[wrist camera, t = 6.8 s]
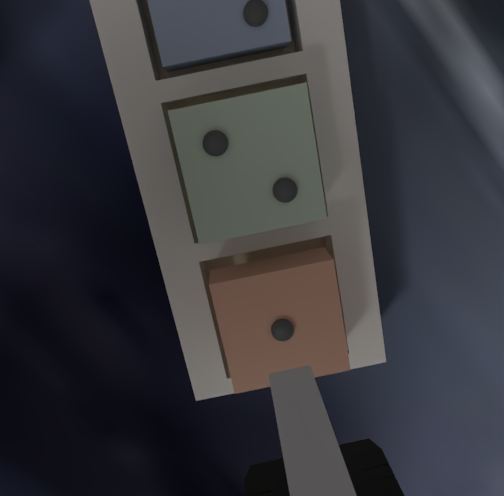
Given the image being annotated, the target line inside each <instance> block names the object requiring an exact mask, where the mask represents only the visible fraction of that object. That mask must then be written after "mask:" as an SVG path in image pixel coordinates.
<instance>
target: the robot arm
mask: <svg viewBox="0 0 504 496" xmlns="http://www.w3.org/2000/svg"><path fill="white" fill-rule="evenodd" d="M268 375H269V381H270V387H271V392H272V398H273V403H274V409H275V415H276V420H277V426H278V431H279V437H280V443H281V448H282V454H283V459H278V460H274V461H269V462H265V463H260V464H255V465H251V466H250V469H249V471H248V474H247V476H246V478H245V494H246V496H404V494H403V492H402V490H401V488H400V486H399V484H398V482H397V480H396V478H395V476H394V473H393V471H392V469H391V467H390V466H389V463H388V461H387V459H386V457H385V455H384V453H383V451H382V449H381V448H380V447H378V446H377V445H376V444H375V443H374V442H372V441H371V440H370V439H365V440H360V441H355V442H351V443H346V444H342V445H338V442H337V439H336V437H335V434H334V431H333V428H332V425H331V423H330V420H329V417H328V414H327V411H326V409H325V406H324V403H323V400H322V397H321V395H320V392H319V389H318V386H317V383H316V381H315V378H314V375H313V372H312V369H311V367H310V365H307V366H303V367H298V368H293V369H289V370H284V371H280V372H275V373H270V374H268Z"/></svg>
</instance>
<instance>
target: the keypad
mask: <svg viewBox="0 0 504 496" xmlns="http://www.w3.org/2000/svg"><path fill="white" fill-rule="evenodd" d="M89 1H90V4H91V8H92V12H93V16H94V19H95V23H96V27H97V31H98V34H99V38H100V42H101V46H102V50H103V53H104V57H105V61H106V65H107V68H108V72H109V76H110V80H111V83H112V87H113V91H114V95H115V98H116V102H117V106H118V110H119V113H120V117H121V121H122V125H123V129H124V132H125V136H126V140H127V144H128V147H129V151H130V155H131V159H132V162H133V166H134V170H135V174H136V177H137V181H138V185H139V189H140V192H141V196H142V200H143V204H144V207H145V211H146V215H147V219H148V223H149V226H150V230H151V234H152V238H153V241H154V245H155V249H156V253H157V256H158V260H159V264H160V268H161V271H162V275H163V279H164V283H165V286H166V290H167V294H168V298H169V302H170V305H171V309H172V313H173V317H174V320H175V324H176V328H177V332H178V335H179V339H180V343H181V347H182V350H183V354H184V358H185V362H186V365H187V369H188V373H189V377H190V381H191V384H192V388H193V392H194V396H195V399H196V401H199V400H203V399H208V398H213V397H218V396H223V395H228V394H233V393H234V389H233V385H232V381H231V376H230V372H229V368H228V364H227V360H226V355H225V351H224V347H223V343H222V339H221V334H220V330H219V326H218V322H217V318H216V313H215V309H214V305H213V301H212V296H211V292H210V288H209V278H210V270H214V269H219V268H224V267H229V266H233V265H238V264H243V263H248V262H253V261H258V260H263V259H268V258H273V257H277V256H282V255H287V254H292V253H297V252H302V251H307V250H312V249H317V248H321V247H324V248H325V249H326V250H327V252H328V253H329V254H330V255H331V257H332V258H333V259H334V265H335V271H336V278H337V284H338V291H339V298H340V304H341V311H342V317H343V324H344V330H345V337H346V343H347V350H348V356H349V363H350V369H355V368H360V367H365V366H370V365H374V364H379V363H384V362H386V356H385V348H384V340H383V333H382V325H381V317H380V309H379V301H378V294H377V286H376V278H375V270H374V262H373V255H372V247H371V239H370V231H369V223H368V216H367V208H366V200H365V192H364V184H363V177H362V169H361V161H360V153H359V145H358V137H357V130H356V122H355V114H354V106H353V98H352V91H351V83H350V75H349V67H348V59H347V52H346V44H345V36H344V28H343V20H342V13H341V5H340V0H285V3H286V9H287V16H288V22H289V28H290V35H291V42H290V43H289V44H288V45H287V47H286V48H283V49H278V50H273V51H268V52H263V53H258V54H253V55H248V56H243V57H239V58H234V59H229V60H224V61H219V62H214V63H209V64H204V65H199V66H194V67H190V68H185V69H180V70H175V71H170V72H168V71H167V70H166V69H165V68H163V67H162V62H161V58H160V54H159V49H158V45H157V41H156V37H155V32H154V28H153V24H152V20H151V15H150V11H149V7H148V2H147V0H89ZM306 82H307V89H308V95H309V102H310V108H311V115H312V121H313V128H314V134H315V141H316V148H317V154H318V161H319V167H320V174H321V180H322V187H323V193H324V200H325V206H326V213H327V219H323V220H318V221H313V222H309V223H304V224H299V225H294V226H289V227H284V228H279V229H274V230H269V231H265V232H260V233H255V234H250V235H245V236H240V237H235V238H230V239H225V240H220V241H216V242H211V243H206V244H201V245H199V242H198V237H197V233H196V229H195V225H194V221H193V216H192V212H191V208H190V204H189V200H188V195H187V191H186V187H185V183H184V178H183V174H182V170H181V166H180V162H179V157H178V153H177V149H176V145H175V141H174V136H173V132H172V128H171V124H170V120H169V115H168V111H169V110H174V109H179V108H184V107H189V106H193V105H198V104H203V103H208V102H213V101H218V100H223V99H228V98H233V97H237V96H242V95H247V94H252V93H257V92H262V91H267V90H272V89H277V88H282V87H286V86H291V85H296V84H301V83H306Z"/></svg>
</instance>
